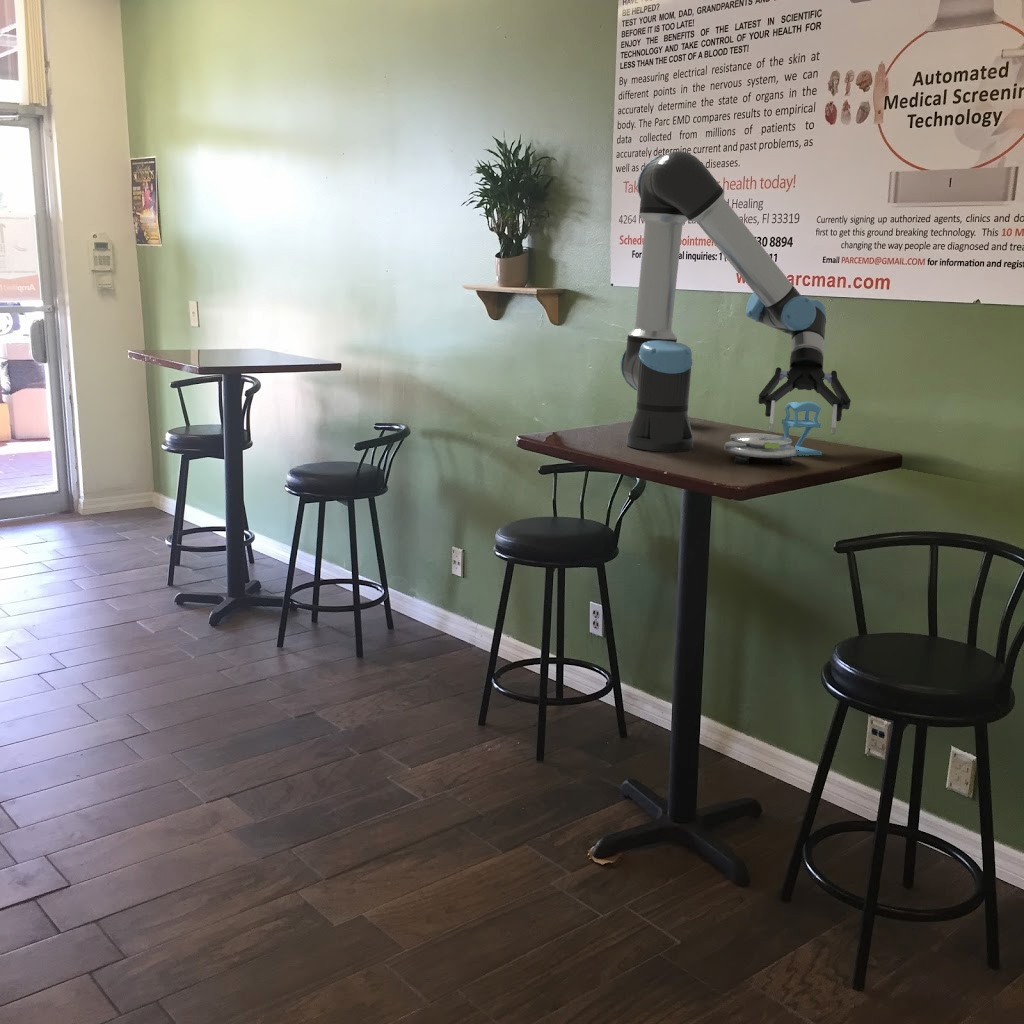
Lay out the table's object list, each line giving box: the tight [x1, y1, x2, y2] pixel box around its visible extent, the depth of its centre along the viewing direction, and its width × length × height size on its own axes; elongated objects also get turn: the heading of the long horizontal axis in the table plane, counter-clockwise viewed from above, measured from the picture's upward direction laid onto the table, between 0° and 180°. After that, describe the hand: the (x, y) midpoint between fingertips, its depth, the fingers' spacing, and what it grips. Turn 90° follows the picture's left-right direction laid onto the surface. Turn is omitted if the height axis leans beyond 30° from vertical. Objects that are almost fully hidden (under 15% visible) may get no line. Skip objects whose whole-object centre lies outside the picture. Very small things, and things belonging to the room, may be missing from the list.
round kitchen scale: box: [724, 432, 797, 466], centre depth 229 cm, size 15×15×5 cm
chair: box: [781, 400, 823, 457], centre depth 241 cm, size 8×8×12 cm
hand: (802, 429), depth 239 cm, fingers open, 13 cm apart
